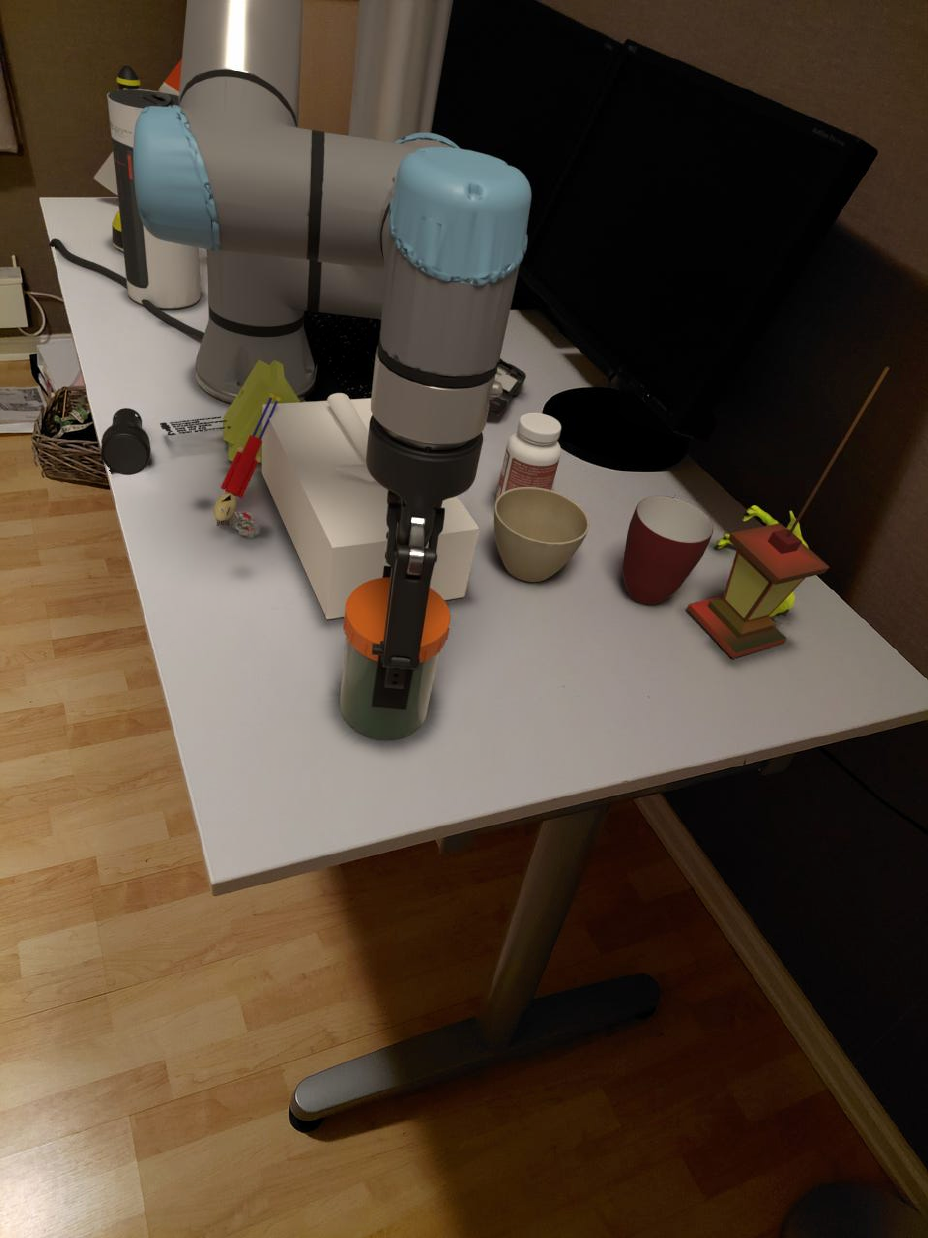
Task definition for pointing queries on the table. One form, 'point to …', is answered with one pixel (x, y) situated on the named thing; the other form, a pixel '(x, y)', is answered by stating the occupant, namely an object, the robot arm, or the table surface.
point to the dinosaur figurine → (768, 521)
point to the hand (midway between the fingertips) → (390, 664)
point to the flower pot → (537, 531)
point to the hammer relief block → (345, 501)
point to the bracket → (255, 404)
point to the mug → (663, 547)
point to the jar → (375, 719)
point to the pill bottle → (531, 454)
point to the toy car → (506, 386)
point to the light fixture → (762, 580)
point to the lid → (370, 616)
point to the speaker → (149, 261)
